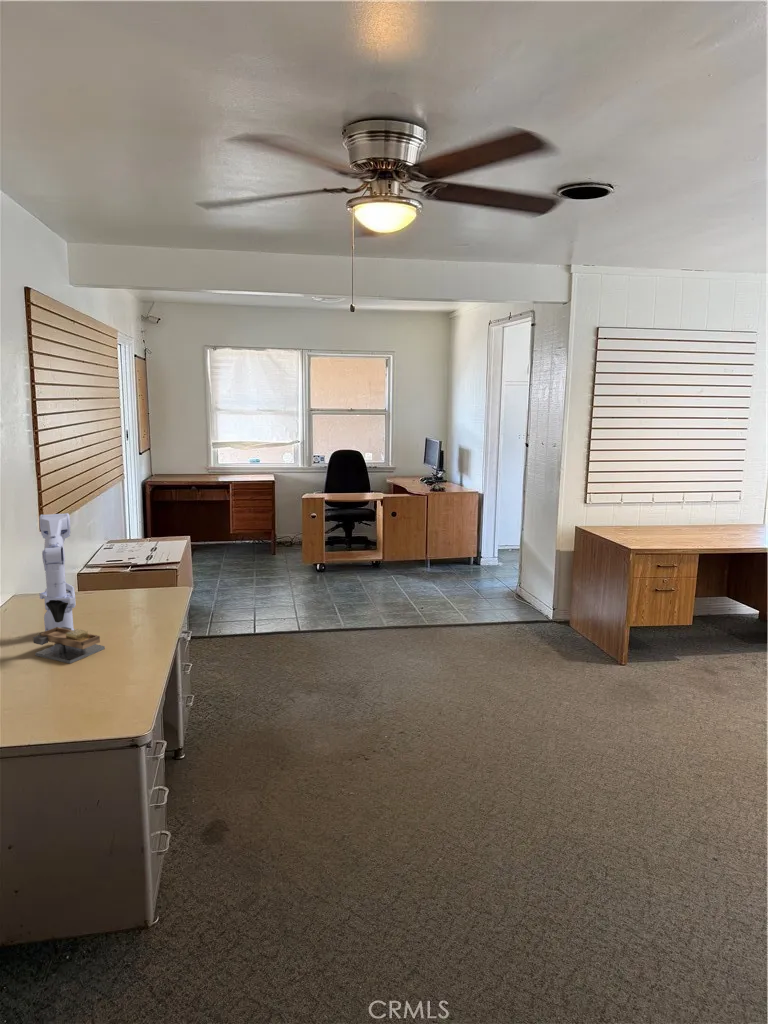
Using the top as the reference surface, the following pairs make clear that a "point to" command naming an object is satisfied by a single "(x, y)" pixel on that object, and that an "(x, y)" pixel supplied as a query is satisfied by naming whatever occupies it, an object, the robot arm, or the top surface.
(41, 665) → the top surface
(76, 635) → the yellow block
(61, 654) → the pivot stand
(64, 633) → the brown wooden tray
